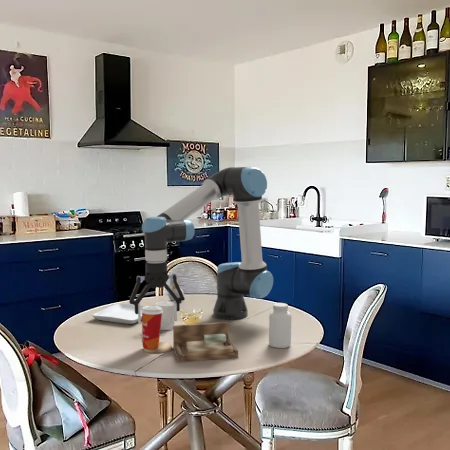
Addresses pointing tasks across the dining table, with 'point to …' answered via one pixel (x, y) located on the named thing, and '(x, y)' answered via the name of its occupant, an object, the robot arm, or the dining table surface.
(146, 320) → the paper cup
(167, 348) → the mat
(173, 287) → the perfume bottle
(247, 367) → the dining table surface
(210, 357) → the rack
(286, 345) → the pill bottle
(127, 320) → the salad plate
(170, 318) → the white cup
